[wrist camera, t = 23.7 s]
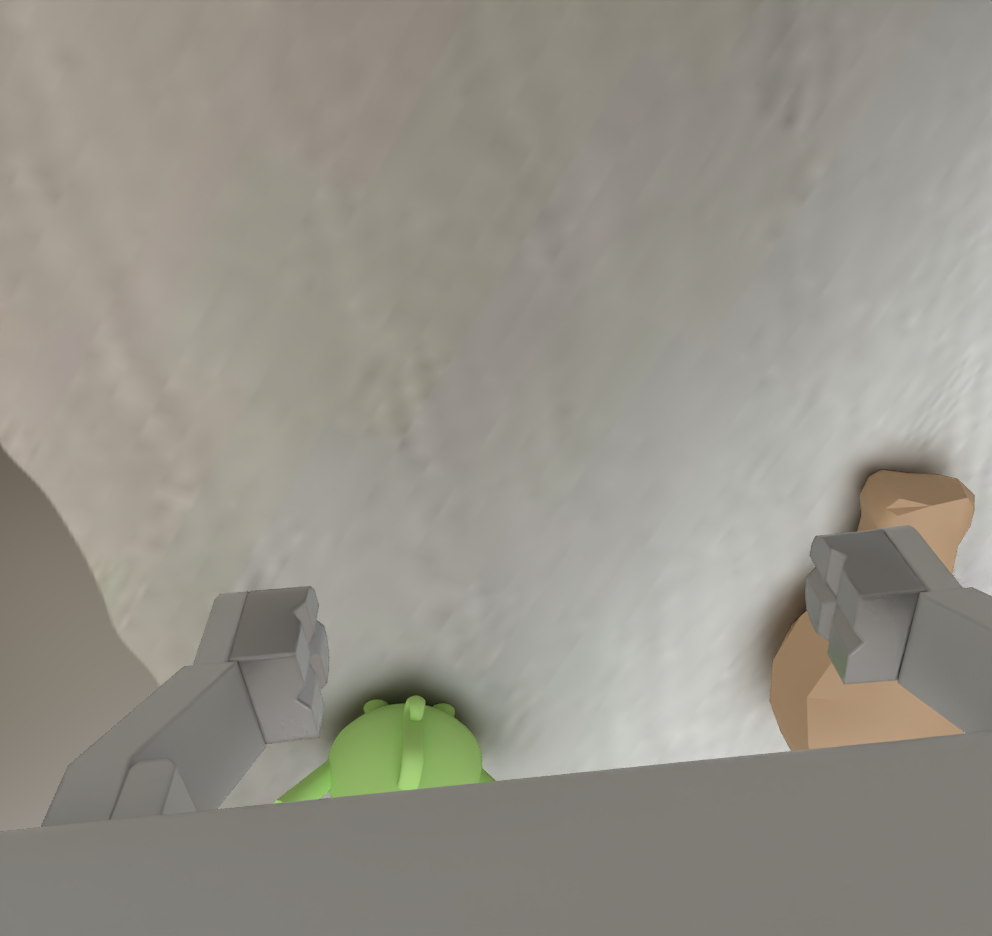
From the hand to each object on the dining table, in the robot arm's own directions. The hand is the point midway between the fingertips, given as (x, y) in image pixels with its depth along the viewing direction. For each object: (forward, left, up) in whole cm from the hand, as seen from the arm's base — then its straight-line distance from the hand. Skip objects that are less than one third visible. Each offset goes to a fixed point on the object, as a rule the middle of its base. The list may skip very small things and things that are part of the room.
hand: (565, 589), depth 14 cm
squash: (-1, +33, -27) cm, 43 cm away
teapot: (+27, +24, -27) cm, 45 cm away
